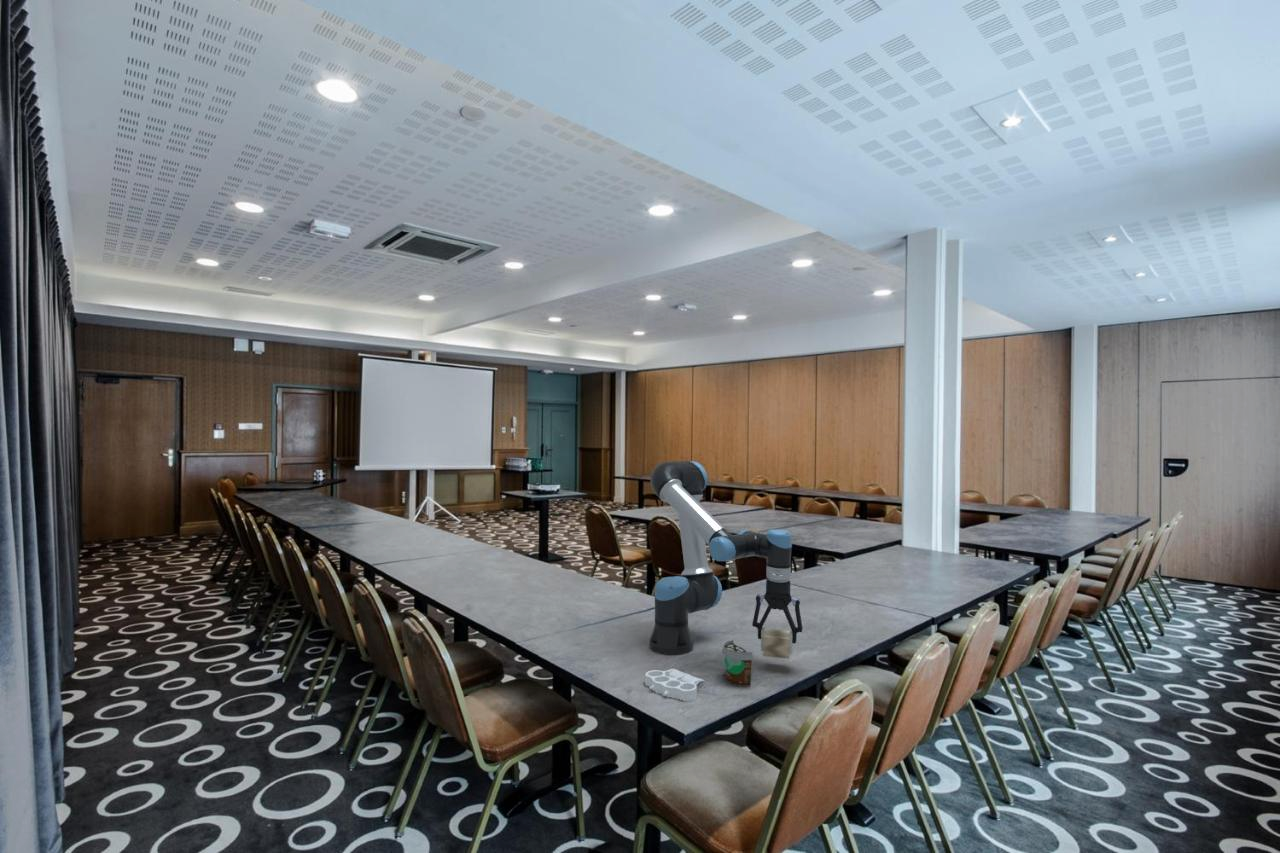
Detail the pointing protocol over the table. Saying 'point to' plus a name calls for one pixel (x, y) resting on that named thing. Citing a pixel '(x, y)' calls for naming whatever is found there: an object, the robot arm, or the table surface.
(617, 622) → the table surface
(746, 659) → the food container
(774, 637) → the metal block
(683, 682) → the white brass knuckles
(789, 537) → the robot arm
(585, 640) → the table surface
